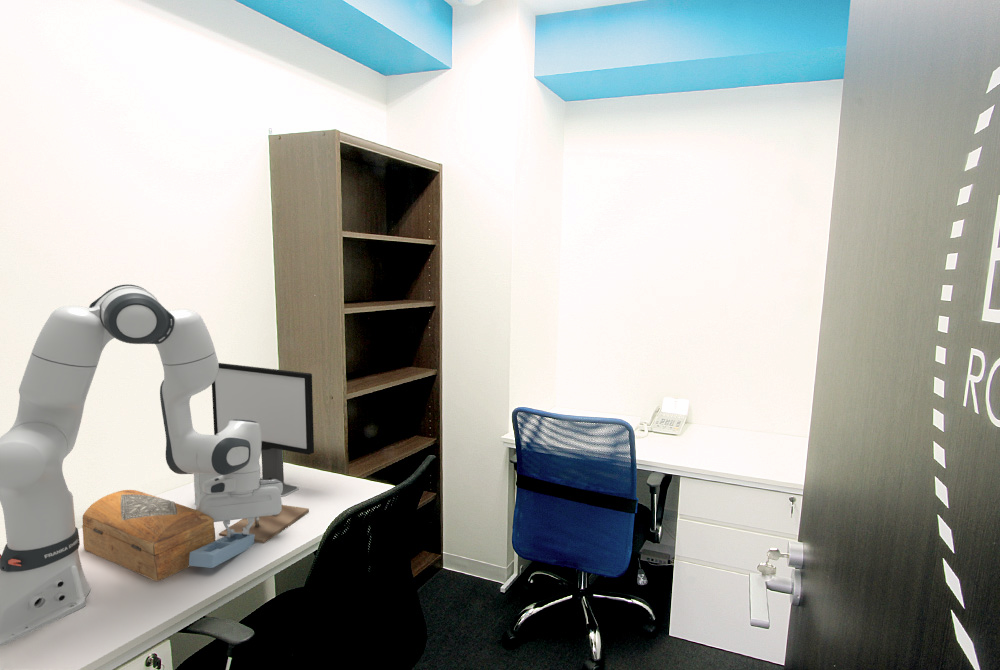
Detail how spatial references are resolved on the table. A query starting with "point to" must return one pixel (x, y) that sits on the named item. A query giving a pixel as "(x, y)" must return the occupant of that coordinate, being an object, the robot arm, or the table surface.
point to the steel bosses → (257, 521)
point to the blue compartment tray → (220, 550)
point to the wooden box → (145, 532)
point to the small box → (201, 483)
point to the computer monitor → (267, 411)
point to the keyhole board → (270, 523)
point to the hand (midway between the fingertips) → (238, 536)
